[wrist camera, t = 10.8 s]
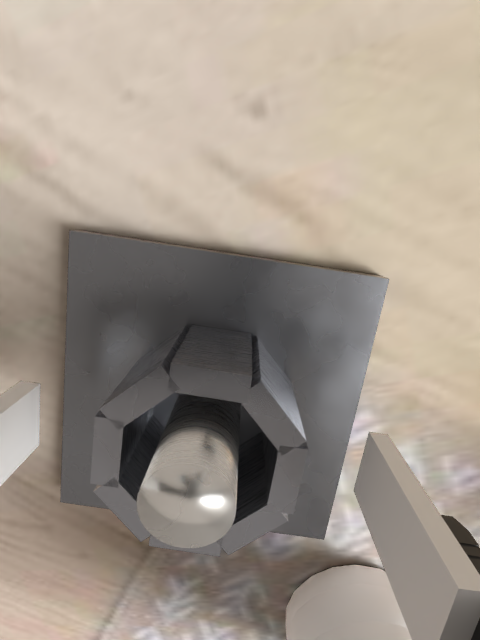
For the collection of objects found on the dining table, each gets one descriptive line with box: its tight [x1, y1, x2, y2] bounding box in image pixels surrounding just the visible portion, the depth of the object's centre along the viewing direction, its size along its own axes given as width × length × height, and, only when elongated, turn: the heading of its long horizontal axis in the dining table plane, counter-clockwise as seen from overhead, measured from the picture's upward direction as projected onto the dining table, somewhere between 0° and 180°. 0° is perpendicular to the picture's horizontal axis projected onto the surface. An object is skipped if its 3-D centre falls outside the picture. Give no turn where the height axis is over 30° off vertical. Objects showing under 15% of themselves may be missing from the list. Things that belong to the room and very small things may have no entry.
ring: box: [90, 324, 308, 557], centre depth 16 cm, size 7×7×5 cm
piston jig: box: [60, 230, 389, 548], centre depth 15 cm, size 14×14×8 cm
